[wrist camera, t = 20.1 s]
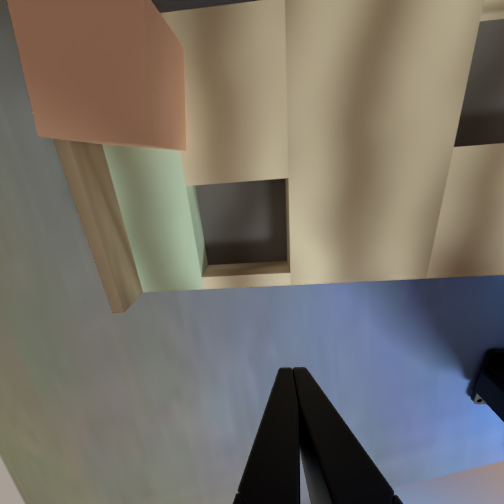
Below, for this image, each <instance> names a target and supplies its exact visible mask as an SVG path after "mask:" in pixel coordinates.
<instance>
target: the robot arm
mask: <svg viewBox="0 0 504 504" xmlns="http://www.w3.org/2000/svg"><path fill="white" fill-rule="evenodd" d="M471 400H472V401H473V402H474V403H475V404H487V405H488V406H489V407H490V408H491V409H492V410H493V411H494V412H495V413H496V414H497V415H498V416H499V417H500V419H501V420H502V421H503V422H504V349H492V350H489V351H488V352H487V353H486V355H485V358H484V361H483V364H482V366H481V369H480V372H479V375H478V378H477V381H476V383H475V386H474V389H473V392H472V395H471ZM300 454H301V459H302V464H303V469H304V473H305V478H306V483H307V488H308V492H309V497H310V502H311V504H403V503H402V501H401V500H400V499H399V497H398V496H397V495H394V491H393V489H392V488H391V486H390V485H389V483H388V482H387V481H386V479H385V478H384V476H383V475H382V474H381V472H380V471H379V469H378V468H377V467H376V465H375V464H374V462H373V461H372V460H371V458H370V457H369V455H368V454H367V453H366V451H365V450H364V448H363V447H362V446H361V444H360V443H359V441H358V440H357V439H356V437H355V436H354V434H353V433H352V431H351V430H350V429H349V427H348V426H347V424H346V423H345V422H344V420H343V419H342V417H341V416H340V415H339V413H338V412H337V410H336V409H335V408H334V406H333V405H332V403H331V402H330V401H329V399H328V398H327V396H326V395H325V394H324V392H323V391H322V389H321V388H320V387H319V385H318V384H317V382H316V381H315V380H314V378H313V377H312V375H311V374H310V372H309V371H308V370H307V369H306V368H305V367H294V368H293V370H292V368H290V367H287V368H280V369H279V370H278V373H277V376H276V379H275V382H274V385H273V388H272V391H271V394H270V397H269V399H268V402H267V405H266V408H265V411H264V414H263V417H262V420H261V423H260V426H259V429H258V432H257V435H256V438H255V441H254V444H253V446H252V449H251V452H250V455H249V458H248V461H247V464H246V467H245V470H244V473H243V476H242V479H241V482H240V485H239V488H238V493H237V494H236V496H235V499H234V502H233V504H300Z"/></svg>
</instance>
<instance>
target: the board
mask: <svg viewBox="0 0 504 504" xmlns="http://www.w3.org/2000/svg"><path fill="white" fill-rule="evenodd" d="M6 2H7V0H6ZM7 5H8V3H7ZM160 14H161V15H162V17H163V18H164V20H165V21H166V23H167V24H168V26H169V27H170V29H171V30H172V32H173V33H174V35H175V36H176V38H177V39H178V41H179V42H180V44H181V45H182V46H183V48H184V76H185V114H186V151H180V150H167V149H154V148H141V147H128V146H115V145H103V144H95V143H87V142H78V141H70V140H62V139H54V138H53V140H54V143H55V146H56V149H57V152H58V155H59V158H60V160H61V163H62V166H63V169H64V172H65V175H66V178H67V181H68V184H69V187H70V190H71V193H72V196H73V199H74V202H75V205H76V207H77V210H78V213H79V216H80V219H81V222H82V225H83V228H84V231H85V234H86V237H87V240H88V243H89V246H90V249H91V251H92V254H93V257H94V260H95V263H96V266H97V269H98V272H99V275H100V278H101V281H102V284H103V287H104V290H105V293H106V295H107V298H108V301H109V304H110V307H111V310H112V313H124V312H125V311H126V310H127V309H128V308H129V307H130V306H131V305H132V303H133V302H134V301H135V300H136V299H137V298H138V297H139V296H140V295H141V294H142V293H143V292H157V291H178V290H199V289H220V288H241V287H262V286H282V285H303V284H324V283H345V282H366V281H387V280H408V279H429V278H450V277H471V276H492V275H504V0H259V1H251V2H244V3H236V4H228V5H220V6H212V7H204V8H196V9H189V10H181V11H173V12H165V13H160Z"/></svg>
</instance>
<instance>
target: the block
mask: <svg viewBox="0 0 504 504" xmlns="http://www.w3.org/2000/svg"><path fill="white" fill-rule="evenodd" d="M7 3H8V8H9V12H10V16H11V21H12V25H13V29H14V34H15V38H16V42H17V47H18V51H19V55H20V60H21V64H22V68H23V73H24V77H25V81H26V86H27V90H28V94H29V99H30V103H31V107H32V112H33V116H34V120H35V125H36V129H37V133H38V137H46V138H54V139H62V140H70V141H78V142H87V143H95V144H103V145H115V146H128V147H141V148H154V149H167V150H180V151H186V114H185V76H184V48H183V46H182V45H181V44H180V42H179V41H178V39H177V38H176V36H175V35H174V33H173V32H172V30H171V29H170V27H169V26H168V24H167V23H166V21H165V20H164V18H163V17H162V15H161V14H160V12H159V11H158V9H157V8H156V7H155V5H154V4H153V2H152V1H151V0H7Z"/></svg>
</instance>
